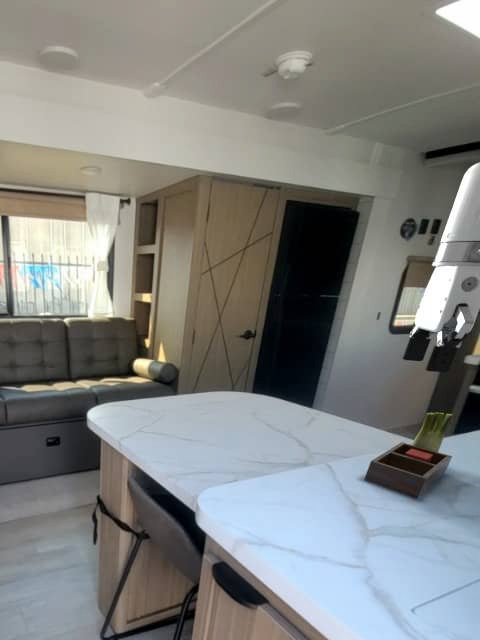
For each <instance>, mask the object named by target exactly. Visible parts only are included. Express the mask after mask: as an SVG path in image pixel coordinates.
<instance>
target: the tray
mask: <svg viewBox="0 0 480 640" xmlns="http://www.w3.org/2000/svg"><path fill="white" fill-rule="evenodd" d="M411 449H414V450H418V451H421V452H425V453H428V454H432V455H433V456H432V458H431V461H430V463H428V462H424V461H421V460H418V459H414V458H411V457H408V456H405V453H406V452H408V451H409V450H411ZM452 458H453V455H449V454H446V453H442V452H439V451H438V452H435V451H432V450H428V449H424V448H421V447H417V446H414V445H412V444H410V443H406V442H403V441H401V442H399V443H397V444H396V445H395V446H393V447H391V448H389V449H388V450H387V451H385V452H384V453H382V454H380V455H378V456H377V457H375V458H373V459H372V460H370V463H369V465H368V468H367V471H366V474H365V477H364V479H363V481H364V482H365V481H366V482H369V483H371V484H374V485H377V486H379V487H382V488H385V489H387V490H391V491H393V492H397V493H399V494H402V495H404V496H407V497H409V498H410V497H411V498H414V499H416V500H418V499H419V498H420V497H421V496H422V495H423V494H424V493H425V492H426V491H428V490H429V489H430V488H432V486H433V485H435V483H437V482H438V481H439V480H440V479H441V478H442V477H443V476H444V475H445V474H446V471H447V469H448V467H449V465H450V463H451V461H452Z"/></svg>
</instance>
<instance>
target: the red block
mask: <svg viewBox="0 0 480 640" xmlns="http://www.w3.org/2000/svg"><path fill="white" fill-rule="evenodd" d="M405 456H408V457H411V458H414V459H418V460H421V461H424V462H428V463H430V461H431V458H432V456H433V455H432V454H428V453H425V452H421V451H418V450H414V449H411V450H409V451H408V452H406V453H405Z"/></svg>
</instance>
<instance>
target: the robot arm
mask: <svg viewBox="0 0 480 640" xmlns="http://www.w3.org/2000/svg"><path fill="white" fill-rule="evenodd" d="M443 230H444V231H443V234H442V236H441V239H440V242H439V244H438V247H437V250H436V253H435V256H434V259H433V261H432V264H431V267H435V268H434V270H433V272H432V274H431V276H430V279H429V280H428V282H427V285H426V288H425V290H424V293H423V295H422V297H421V300H420V303H419V306H418V308H417V311H416V313H415V317H414V322H413V324H412V330H411V331H410V333H409V338H408V341H407V343H406V346H405V350H404V352H403V355H402V360H404V361H411V362H422V361H424V358H425V356H426V354H427V351H428V348H429V345H430V343H431V340H432V339H431V338H430V337H431V336H432V334H433V333H436V345H433V346H432V349H431V351H430V354H429V357H428V359H427V362H426V365H425V367H424V370H425V372H426V371H427V372H433V373H448V372H449V371H450V370H451V366H452V364H453V361H454V359H455V357H456V354H457V352H458V350H459V348H460V347H461V346H462V342H463V341H464V340H465V339H466V337H467V336H468V334H469V333H470V332H471V331H472V329H473V327H474V325H475V322H476V319H477V317H478V315H479V312H480V162H477V163H475V164H474V165H472V166H470V167H469V168H468V169H467V170H466V172H465V173H464V175H463V178H462V180H461V182H460V185H459V188H458V190H457V193H456V197H455V200H454V203H453V205H452V208H451V211H450V214H449V217H448V219H447V222H446V225H445V228H444V229H443Z"/></svg>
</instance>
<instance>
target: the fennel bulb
mask: <svg viewBox="0 0 480 640" xmlns="http://www.w3.org/2000/svg"><path fill="white" fill-rule="evenodd" d="M453 416H454V414H451V413H444V412H427V413H426V414H425V417H424V420H423V424H422V426H421V429H420V430H419V432H418V433H417V434H416V437H415V438H414V439H413V441H412V444H411V445H414V446H417V447H421V448H424V449H428V450H432V451H435V452H439V451H440V448H441V446H442V443H443V440H444V436H445V434H446V431H447V429H448V427H449V424H450V422H451V420H452V419H453Z"/></svg>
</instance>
